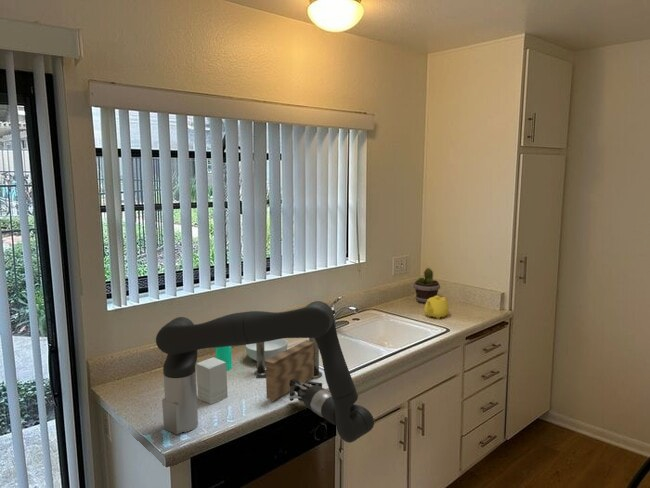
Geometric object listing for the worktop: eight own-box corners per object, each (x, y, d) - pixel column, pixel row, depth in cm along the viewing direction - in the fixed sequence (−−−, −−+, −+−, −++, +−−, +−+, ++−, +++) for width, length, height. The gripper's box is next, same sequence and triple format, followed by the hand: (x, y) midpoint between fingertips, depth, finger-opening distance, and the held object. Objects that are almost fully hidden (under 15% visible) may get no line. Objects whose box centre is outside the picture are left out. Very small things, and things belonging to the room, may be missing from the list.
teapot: (435, 323, 249) (436, 302, 247) (416, 318, 257) (417, 297, 255) (454, 314, 262) (454, 294, 260) (435, 310, 270) (436, 291, 268)
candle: (228, 371, 193) (227, 341, 191) (213, 370, 194) (212, 340, 192) (234, 365, 199) (233, 336, 197) (219, 364, 200) (218, 335, 198)
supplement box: (228, 397, 172) (227, 362, 170) (210, 405, 167) (208, 368, 164) (215, 390, 177) (213, 356, 175) (197, 398, 171) (195, 362, 169)
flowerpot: (434, 306, 276) (436, 271, 273) (408, 302, 284) (409, 268, 281) (443, 300, 289) (444, 266, 285) (418, 296, 297) (419, 263, 293)
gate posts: (321, 378, 186) (321, 331, 183) (252, 378, 187) (251, 330, 184) (322, 370, 193) (322, 324, 190) (255, 370, 194) (254, 324, 191)
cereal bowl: (263, 348, 216) (263, 332, 215) (295, 356, 208) (295, 339, 207) (237, 362, 202) (236, 345, 201) (270, 370, 193) (270, 353, 192)
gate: (307, 373, 188) (306, 340, 186) (314, 376, 186) (314, 342, 184) (265, 398, 169) (264, 360, 167) (273, 401, 167) (272, 363, 165)
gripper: (338, 384, 158) (308, 366, 172) (303, 396, 150) (274, 376, 164) (338, 407, 159) (308, 387, 173) (303, 419, 151) (274, 398, 165)
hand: (291, 382), depth 168 cm, fingers closed
